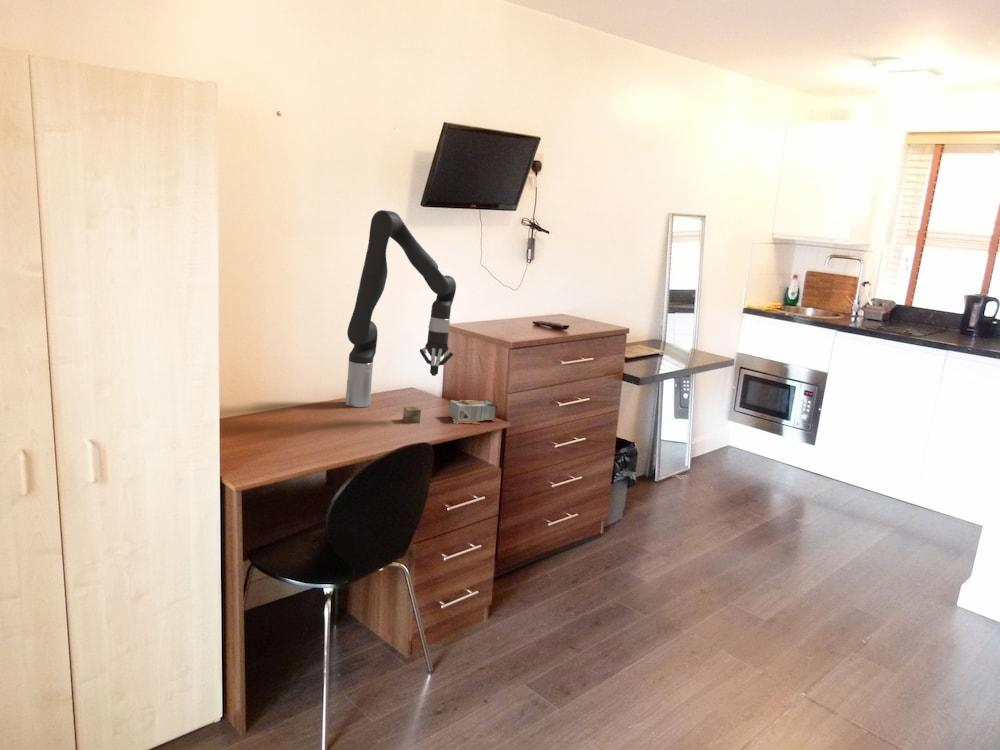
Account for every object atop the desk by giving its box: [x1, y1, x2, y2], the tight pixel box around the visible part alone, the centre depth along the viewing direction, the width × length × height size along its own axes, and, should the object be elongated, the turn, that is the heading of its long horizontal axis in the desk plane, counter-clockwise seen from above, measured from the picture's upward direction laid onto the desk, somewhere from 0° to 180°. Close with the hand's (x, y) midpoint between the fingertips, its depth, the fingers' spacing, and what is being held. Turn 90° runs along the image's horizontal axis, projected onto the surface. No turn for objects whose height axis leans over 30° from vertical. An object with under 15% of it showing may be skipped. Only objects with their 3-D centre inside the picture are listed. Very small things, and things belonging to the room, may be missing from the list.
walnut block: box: [402, 406, 422, 424], centre depth 261 cm, size 5×5×5 cm
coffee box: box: [448, 399, 498, 422], centre depth 273 cm, size 9×6×16 cm
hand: (433, 375), depth 264 cm, fingers closed
